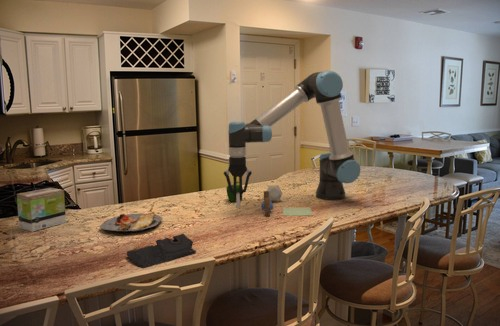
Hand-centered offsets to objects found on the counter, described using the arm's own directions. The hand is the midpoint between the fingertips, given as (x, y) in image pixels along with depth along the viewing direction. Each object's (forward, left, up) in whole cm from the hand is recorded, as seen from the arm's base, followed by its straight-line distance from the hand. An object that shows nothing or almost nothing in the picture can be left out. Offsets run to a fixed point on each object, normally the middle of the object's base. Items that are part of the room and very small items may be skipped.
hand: (238, 207), depth 184 cm
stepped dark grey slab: (+24, +50, -3) cm, 55 cm away
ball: (-13, 0, 0) cm, 13 cm away
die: (-17, -20, -3) cm, 26 cm away
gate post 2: (-13, +6, -2) cm, 15 cm away
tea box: (+81, +18, -3) cm, 83 cm away
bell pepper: (+3, -21, -3) cm, 21 cm away
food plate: (+43, +19, -3) cm, 47 cm away
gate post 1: (-13, -6, -2) cm, 15 cm away
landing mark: (-27, 0, -2) cm, 27 cm away
